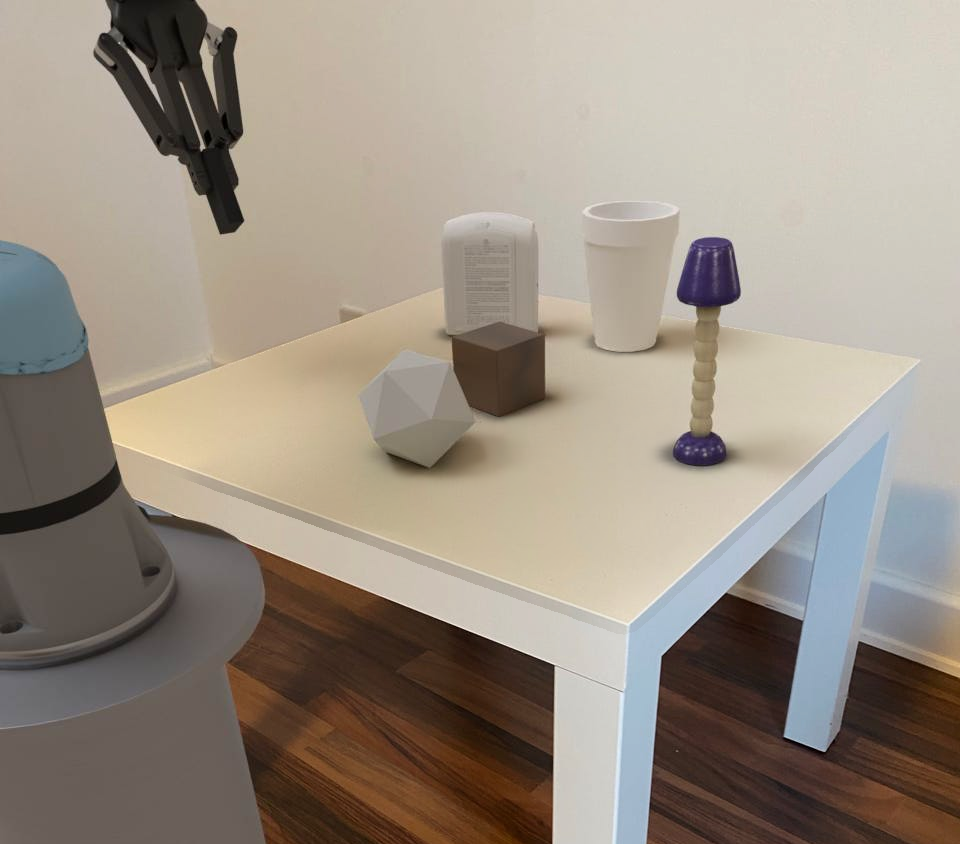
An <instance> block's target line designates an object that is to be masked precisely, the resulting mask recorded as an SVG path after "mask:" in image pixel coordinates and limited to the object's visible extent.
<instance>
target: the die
mask: <svg viewBox="0 0 960 844" xmlns="http://www.w3.org/2000/svg"><path fill="white" fill-rule="evenodd" d="M357 396H358V399H359V402H360V405H361V408H362V411H363V414H364V417H365V419H366V423H367V425H368V428H369V431H370V434H371V436H372V439H373V441H375V442H376V443H377V445H378V446H379V447H380V448H381V449H382V450H383V451H384V452H385V453H387V454H390V455H392V456H395V457H398V458H401V459H404V460H406V461H409V462H411V463H413V464H417V465H420V466H423V467H425V468H427V469H430V468H431V467H432V466H433V465H434V464H436V463H437V462H438V461H439V459H440V458H442V457H443V456H444V455H445V454H446V453H447V452H448V451H449V450H450V449H451V448H452V447H453V446H454V445H455V444H456V443H457V442H458V440H460V439H461V438H462V437H463V436H464V435H465V434H466V433H467V432H468V431H469V430H470V429H471V428H472V427H473V426H474V425H475V424H476V423H477V422H476V419H475V417H474V415H473V412H472V410H471V408H470V407H471V406H469V405H468V403H467V400H466V398H465V396H464V393H463V391H462V389H461V387H460V384H459V382H458V380H457V377H456V375H455V373H454V370H453V365H452V363H451V361H448V360H445V359H441V358H437V357H433V356H431V355H426V354H422V353H419V352H415V351H413V350H408V349H405V348H403V349H402V350H401V351H400V352H399V353H398V354H397V355H396V356H395V357H394V358H393V359H392V360H391V361H390V362H389V363H388V364H387V365H386V366H384V368H383V369H382V370H381V371H380V372H379V373H378V374H377V375H376V376H375V377H374V378H373V379H372V380H371V381H370V382H369V383H368V384H367V385H366V386H365V387H364V388H363V389H362V390H361V391H360V392H359V393H358V394H357Z"/></svg>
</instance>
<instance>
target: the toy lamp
mask: <svg viewBox="0 0 960 844" xmlns="http://www.w3.org/2000/svg"><path fill="white" fill-rule="evenodd" d="M689 245H690V246H689V248H688V251H687V254H686V256H685V261H684V264H683V267H682V270H681V274H680V278H679V281H678V285H677V288H676V298H677V300H678V302H679V303H682V304H684V305H688V306H693V307H695V314H696V318H697V321H696V323H695V327H694V334H695V338H696V341H695V343H694V347H693V353H694V357H695V360H694V362H693V364H692V375H693V377H694V378H693V381H692V384H691V394H692V396H693V398H692V399H691V403H690V412H691V414H692V415H691V418H690V420H689V429H690V430H689V431H687V432H685V433H683V434H682V435H680V437H678V439H677V440H676V441H675V443H674V446H673V449H672V455H673V457H674V458H675V459H676V460H677V461H678V462H680V463H684V464H687V465H692V466H710V465H714V464H718V463H720V462H722V461H723V460H725V458H726V456H727V448H726V444H725V442H724V440H723V439H722V437H721V436H720V435H719V434H718V433H716V432H714V431H712V429H713V418H712V414H713V412H714V409H715V401H714V398H713V396H714V395H715V392H716V382H715V379H714V378H715V377H716V375H717V370H718V367H717V366H718V364H717V361H716V358H717V355H718V352H719V343H718V340H717V338H718V337H719V334H720V323H719V320H718V319H719V318H720V315H721V311H722V307H723V306H728V305H731V304H734V303H735V302H737V301H738V300H739V299H740V297H741V295H742V290H741V289H742V288H741V283H740V276H739V270H738V265H737V259H736V255H735V248H734V245H733V242H732V241H731V240H730V239H728V238H725V237H720V236H707V237H701V238H697V239H695V240H693V241H692V242H691V244H689Z"/></svg>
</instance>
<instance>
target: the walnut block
mask: <svg viewBox="0 0 960 844" xmlns="http://www.w3.org/2000/svg"><path fill="white" fill-rule="evenodd" d="M451 353H452V368H453V370H454V373H455V375H456V377H457V380H458V382H459V384H460V387H461V389H462V391H463V393H464V396H465V398H466V400H467V403H468V405H469V407H472V408H475V409H477V410H480V411H483V412H485V413H488V414H490V415H494V416H497V417H501V416H504V415H506V414H509V413H512V412H515V411H517V410H519V409H521V408H524V407H526V406H530V405H532V404H534V403H538V402H539V401H542V400H544V399H546V334H545V333H541V332H539V331H538V332H535V331H531V330H528V329H524V328H521V327H517V326H514V325H510V324H507V323H503V322H496V323H493V324H490V325H487V326H484V327H481V328H478V329H475V330H472V331H468V332H465V333H462V334H459V335H452V336H451Z"/></svg>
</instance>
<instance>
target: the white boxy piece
mask: <svg viewBox="0 0 960 844" xmlns="http://www.w3.org/2000/svg"><path fill="white" fill-rule="evenodd" d="M440 244H441V263H442V264H441V265H442V267H441V268H442V286H443V288H442V289H443V307H444V308H443V309H444V326H445V327H444V329H445V333H446V334H447V335H448V336H456V335H459V334H462V333H465V332H468V331H472V330H475V329H478V328H481V327H484V326H487V325H490V324H493V323H496V322H503V323H507V324H510V325H514V326H517V327H521V328H524V329H528V330H531V331H535V332H538V333H539V237H538V234H537V231H536V226H535V221H533V220H532V219H529V218H526V217H524V216H520V215H517V214H513V213H506V212H501V211H482V212H473V213H472V212H471V213H467V214H463V215H460V216H457V217H454V218H451V219H449V220H447V221H446V222H444V224H443V233H442V236H441V243H440Z"/></svg>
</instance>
